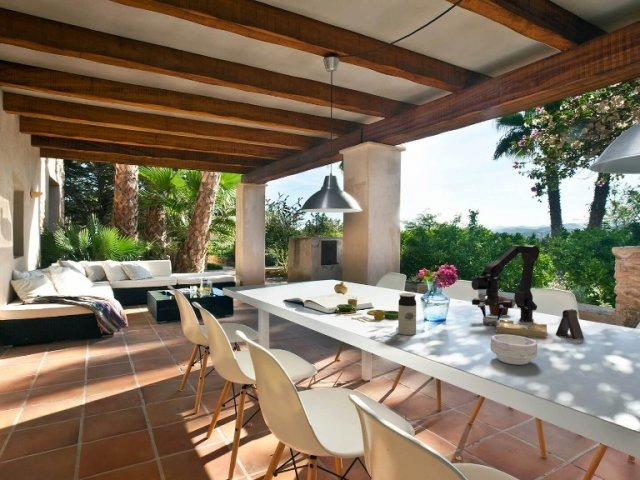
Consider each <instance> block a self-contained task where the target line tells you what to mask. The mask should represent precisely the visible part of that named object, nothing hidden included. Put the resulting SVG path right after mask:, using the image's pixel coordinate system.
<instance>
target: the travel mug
mask: <svg viewBox="0 0 640 480" xmlns="http://www.w3.org/2000/svg"><path fill="white" fill-rule="evenodd" d="M416 295H417V294H415V293H409V292H402V293H399V300H398V308H397V311H398V318H397V323H398V324H397V325H398V327H397V328H398V329H397V330H398V331H397V332H398V333H399V334H400V335H402V334H403V335H404V336H413V335H415V334H417V300H416Z"/></svg>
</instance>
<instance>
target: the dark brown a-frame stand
mask: <svg viewBox="0 0 640 480" xmlns="http://www.w3.org/2000/svg"><path fill="white" fill-rule="evenodd" d="M561 314H562V317H561V320H560V322H559V325H558V327H557V330H556V332H555V336H557V337H562V338H567V339H571V340H574V341H575V340H580V339H584V338H585V337H584V333H583V331H582V327H581V325H580V321H579V319H578V311H577V310H576V309H573V308H571V309H565V310H564V309H563V311H562V313H561Z"/></svg>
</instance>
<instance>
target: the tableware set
mask: <svg viewBox="0 0 640 480" xmlns="http://www.w3.org/2000/svg"><path fill="white" fill-rule="evenodd" d="M357 304H358V299H356V298H355V299H354V298H350V299H349V298H348V299H347V303H342V304H337V305H336V308H339V310H337V309H335V310H334V312H335V313H337V314H342V315H343V314H345V315H343V316H344V317H351V316H358V315H360V316H359V317H351V318H350V319H351V320H357V321H359V322H362V323H367V322H368V323H369V322H372V321H373V322H376V321H384V317H385V318H386V319H390V320H396V319H397V320H398V310H385V309H371V310H368V311H367V314H368V315H371V316H373V318H374V319H372V318H370V317H368V316H361V315H363V313H356V312H357V311H358V310H357ZM353 307H356V309H352V308H353Z"/></svg>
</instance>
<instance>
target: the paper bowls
mask: <svg viewBox="0 0 640 480" xmlns="http://www.w3.org/2000/svg"><path fill="white" fill-rule="evenodd" d="M490 352H492V353H494V354H495V355H496V357H497V359H498V360H499V361H500V362H502V363H505V364H509V365H518V366H519V365H520V366H523V365H527V364H529V363H530V362H531V359H535V358H537V356H538V342H537V341H536V340H534V339H532V338H530V337H526V336H518V335H509V334H494V335H492V336H491V337H490Z"/></svg>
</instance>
